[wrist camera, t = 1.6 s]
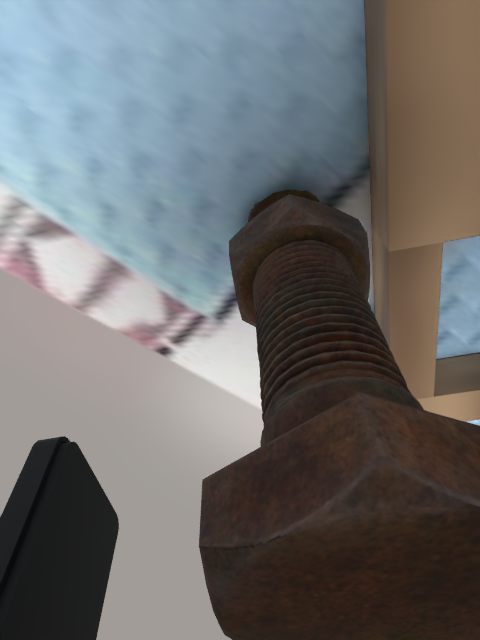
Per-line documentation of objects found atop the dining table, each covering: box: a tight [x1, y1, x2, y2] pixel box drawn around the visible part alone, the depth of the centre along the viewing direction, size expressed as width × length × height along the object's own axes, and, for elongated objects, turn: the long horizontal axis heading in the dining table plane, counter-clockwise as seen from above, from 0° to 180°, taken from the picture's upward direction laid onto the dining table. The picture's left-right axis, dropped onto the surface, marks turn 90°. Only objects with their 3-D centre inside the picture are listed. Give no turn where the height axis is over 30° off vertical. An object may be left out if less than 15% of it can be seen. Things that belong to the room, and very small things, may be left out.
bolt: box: [199, 190, 480, 640], centre depth 13 cm, size 6×5×15 cm
